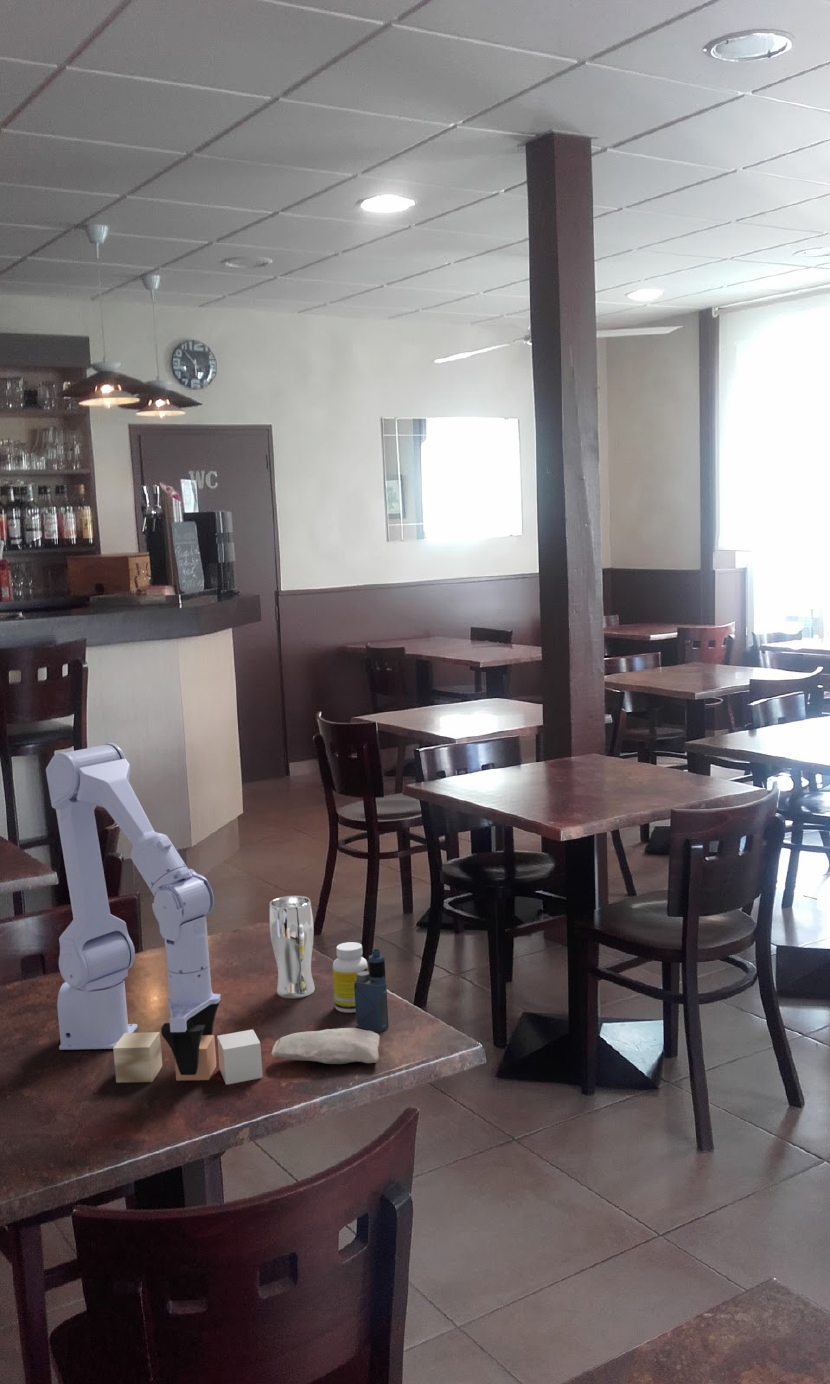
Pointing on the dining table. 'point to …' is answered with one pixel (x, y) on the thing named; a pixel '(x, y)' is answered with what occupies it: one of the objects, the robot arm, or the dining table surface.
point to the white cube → (239, 1056)
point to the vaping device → (372, 995)
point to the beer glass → (292, 945)
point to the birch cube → (137, 1057)
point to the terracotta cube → (202, 1060)
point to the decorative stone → (329, 1046)
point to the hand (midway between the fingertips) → (195, 1061)
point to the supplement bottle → (347, 975)
